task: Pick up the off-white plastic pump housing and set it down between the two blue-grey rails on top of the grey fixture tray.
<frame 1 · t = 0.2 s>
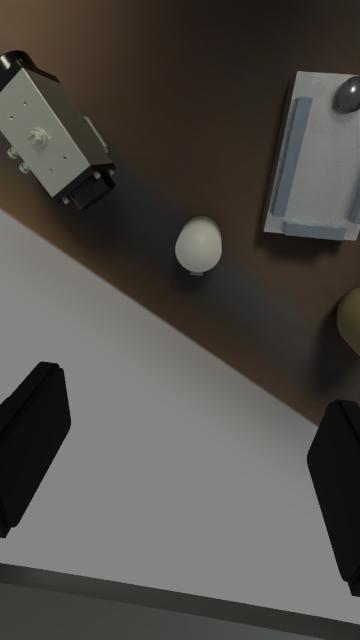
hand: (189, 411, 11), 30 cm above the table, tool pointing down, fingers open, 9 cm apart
grey fixture tray: (320, 164, 32), on the table
squeeze bottle: (359, 305, 40), on the table
pneumatic valve: (86, 144, 34), on the table
drain pump: (200, 236, 37), on the table
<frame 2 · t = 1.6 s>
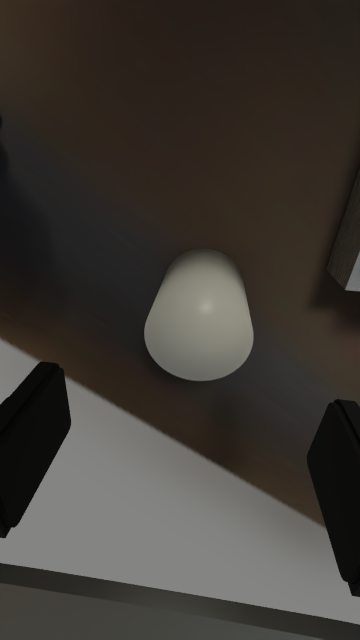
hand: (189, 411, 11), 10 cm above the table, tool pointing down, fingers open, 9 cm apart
drain pump: (203, 287, 19), on the table
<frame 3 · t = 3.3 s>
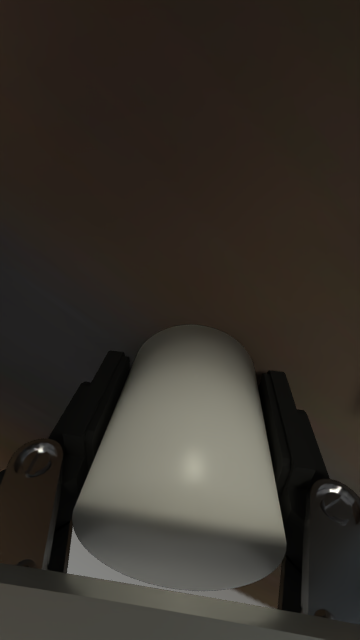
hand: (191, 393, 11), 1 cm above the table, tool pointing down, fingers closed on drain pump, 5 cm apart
drain pump: (193, 377, 12), on the table, touching gripper
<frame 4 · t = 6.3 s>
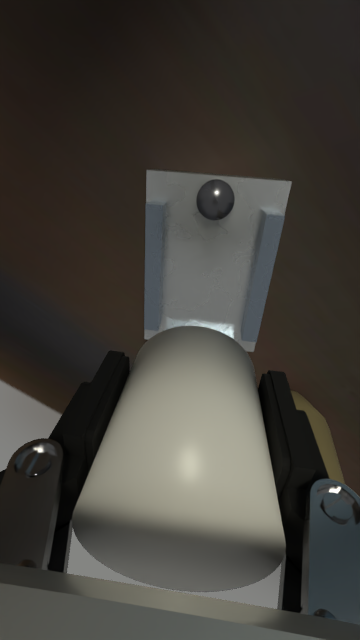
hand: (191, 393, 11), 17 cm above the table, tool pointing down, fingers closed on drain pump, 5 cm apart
grey fixture tray: (207, 261, 26), on the table
squeeze bottle: (280, 406, 34), on the table
drain pump: (192, 378, 12), point 16 cm above the table, touching gripper
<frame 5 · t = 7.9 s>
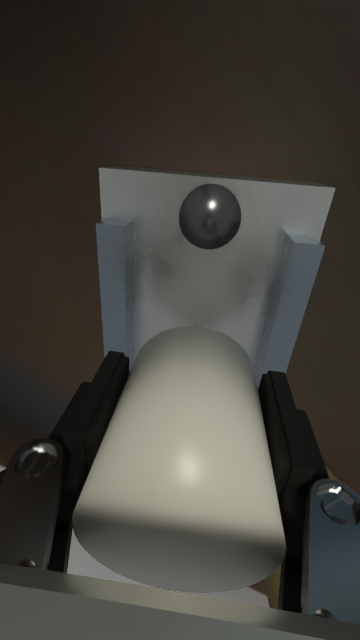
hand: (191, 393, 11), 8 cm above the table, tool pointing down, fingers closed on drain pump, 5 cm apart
grey fixture tray: (200, 298, 19), on the table
squeeze bottle: (295, 474, 26), on the table
drain pump: (192, 378, 12), point 7 cm above the table, touching gripper
when the fingers open (5 cm above the table, at t = 9.3 s): drain pump drops 1 cm, resting on grey fixture tray.
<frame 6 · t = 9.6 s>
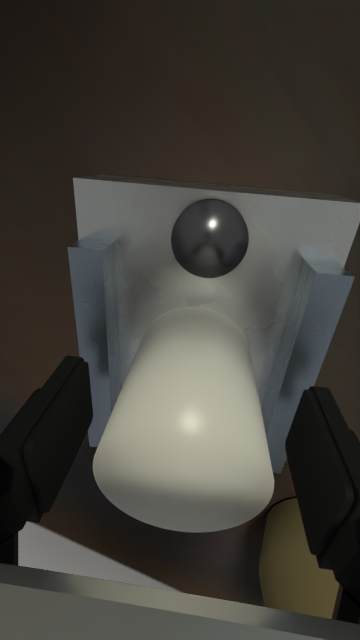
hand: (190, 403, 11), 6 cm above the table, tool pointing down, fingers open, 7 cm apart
grey fixture tray: (198, 325, 16), on the table
squeeze bottle: (304, 514, 23), on the table
drain pump: (194, 356, 13), point 3 cm above the table, touching grey fixture tray
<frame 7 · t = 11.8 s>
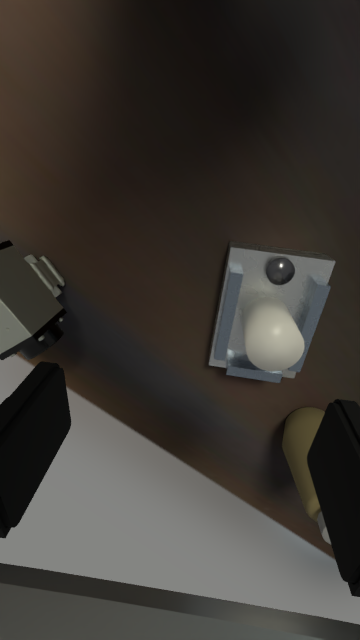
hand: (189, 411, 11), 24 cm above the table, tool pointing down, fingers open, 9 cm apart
grey fixture tray: (261, 307, 34), on the table
squeeze bottle: (306, 421, 41), on the table
pneumatic valve: (45, 275, 36), on the table
drain pump: (264, 318, 32), point 3 cm above the table, touching grey fixture tray
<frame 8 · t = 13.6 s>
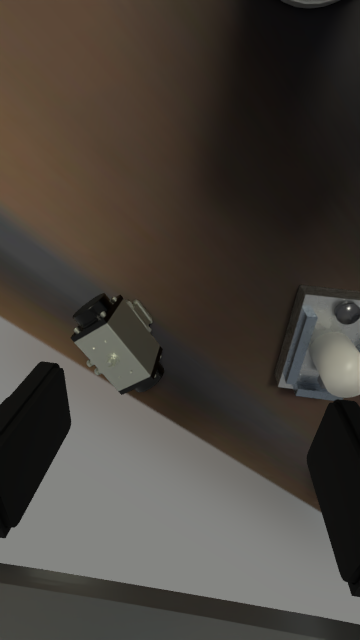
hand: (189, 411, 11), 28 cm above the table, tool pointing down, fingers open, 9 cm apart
grey fixture tray: (323, 337, 40), on the table
pneumatic valve: (134, 314, 42), on the table
drain pump: (330, 349, 37), point 3 cm above the table, touching grey fixture tray
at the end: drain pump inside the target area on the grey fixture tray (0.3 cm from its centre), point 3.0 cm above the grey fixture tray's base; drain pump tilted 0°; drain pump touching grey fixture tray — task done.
